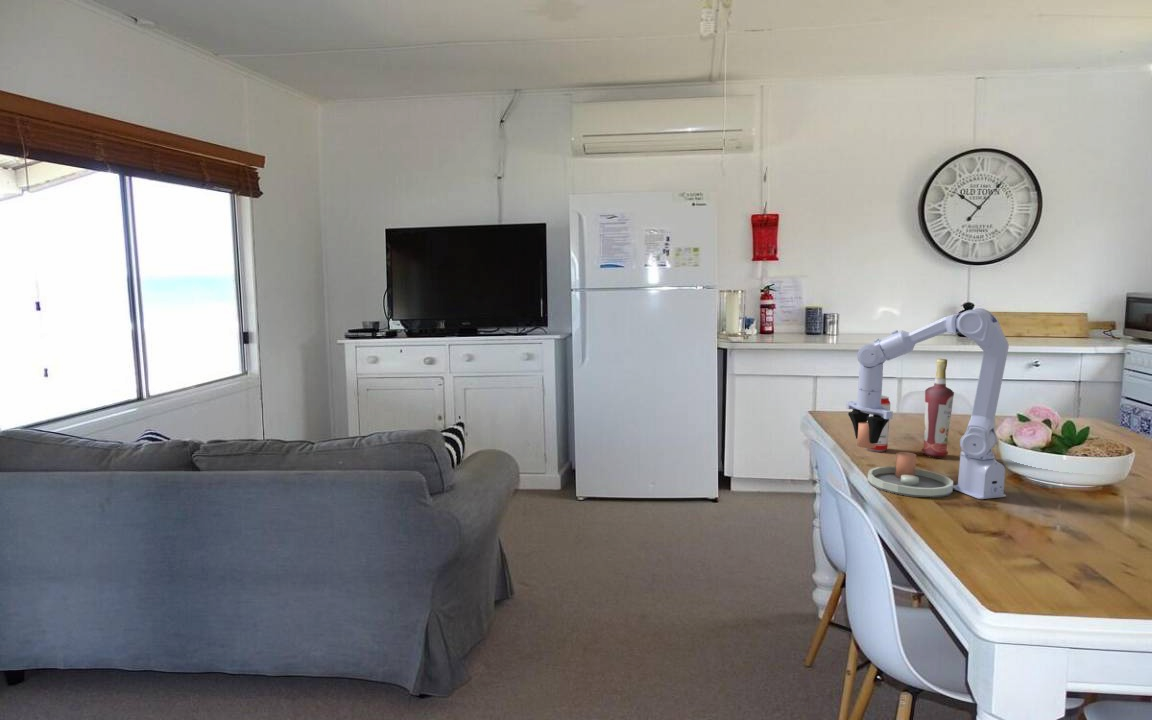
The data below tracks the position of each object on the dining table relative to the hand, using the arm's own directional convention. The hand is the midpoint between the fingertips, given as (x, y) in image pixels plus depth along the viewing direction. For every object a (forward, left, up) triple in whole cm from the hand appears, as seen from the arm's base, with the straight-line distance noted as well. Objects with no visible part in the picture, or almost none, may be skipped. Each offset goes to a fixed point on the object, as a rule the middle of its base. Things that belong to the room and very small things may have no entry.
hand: (866, 440), depth 189 cm
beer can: (+19, -18, -9) cm, 27 cm away
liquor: (+9, -30, -9) cm, 33 cm away
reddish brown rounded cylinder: (0, 0, -1) cm, 1 cm away
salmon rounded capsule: (-9, -5, -8) cm, 13 cm away
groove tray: (-13, -2, -8) cm, 16 cm away
